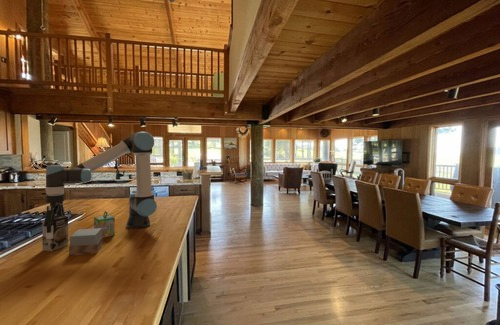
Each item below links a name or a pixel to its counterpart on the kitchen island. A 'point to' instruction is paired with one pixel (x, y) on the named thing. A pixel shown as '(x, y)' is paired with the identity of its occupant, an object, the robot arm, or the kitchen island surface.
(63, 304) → the kitchen island surface
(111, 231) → the chalk box
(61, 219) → the coffee box
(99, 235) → the grey flat block
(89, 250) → the tower base
